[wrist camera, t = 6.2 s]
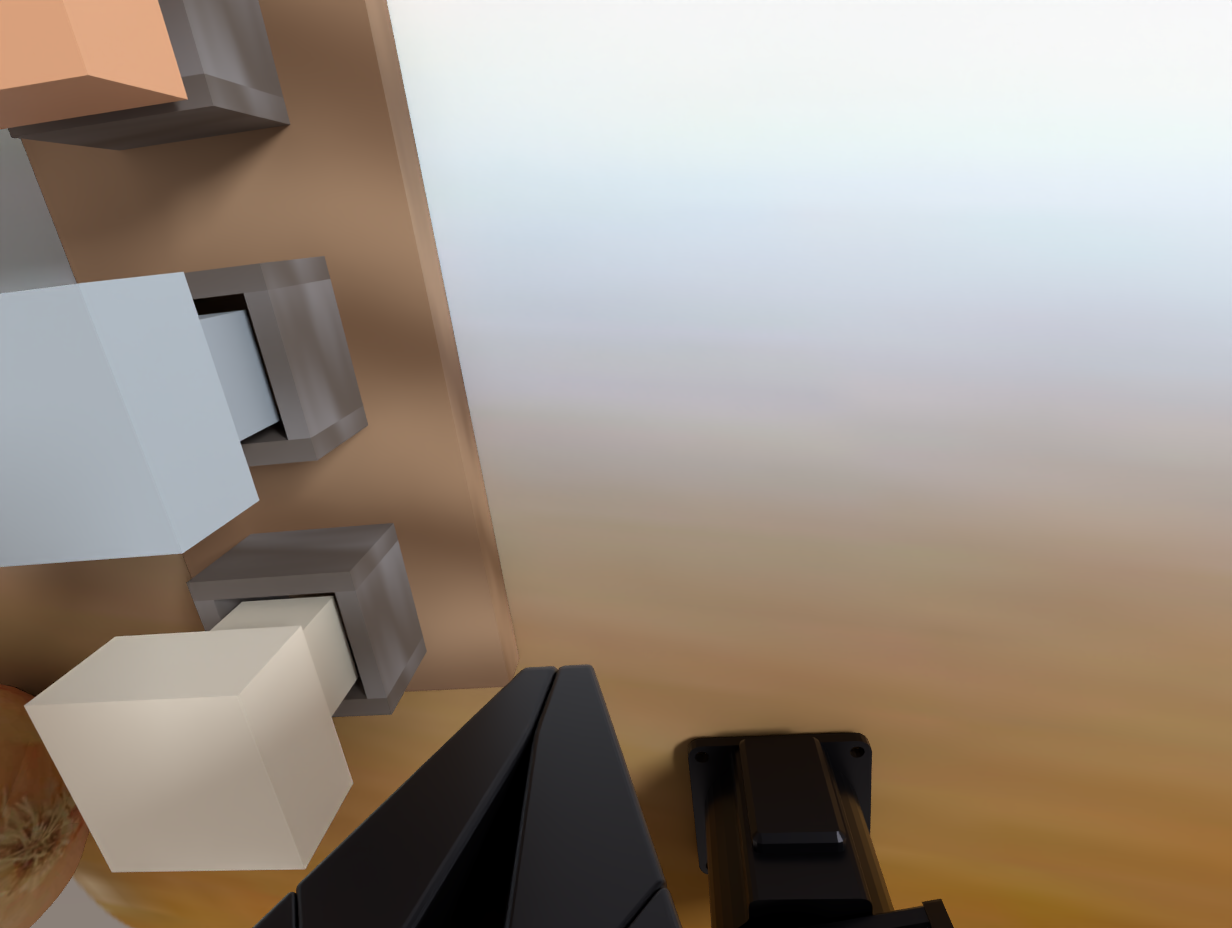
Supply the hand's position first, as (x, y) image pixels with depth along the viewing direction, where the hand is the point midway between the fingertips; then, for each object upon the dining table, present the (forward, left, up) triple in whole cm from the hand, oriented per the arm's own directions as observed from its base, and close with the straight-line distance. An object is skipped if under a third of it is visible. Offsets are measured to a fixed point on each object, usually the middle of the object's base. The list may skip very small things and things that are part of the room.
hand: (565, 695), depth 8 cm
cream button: (-5, +10, -9) cm, 14 cm away
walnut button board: (+3, +10, -13) cm, 17 cm away
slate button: (+3, +10, -9) cm, 14 cm away
